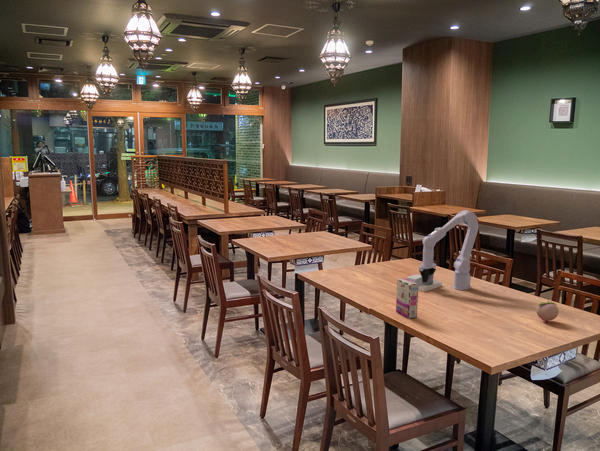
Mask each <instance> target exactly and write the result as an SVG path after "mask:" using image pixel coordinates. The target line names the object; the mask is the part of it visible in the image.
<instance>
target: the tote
mask: <svg viewBox="0 0 600 451" xmlns="http://www.w3.org/2000/svg"><path fill="white" fill-rule="evenodd" d="M442 286H443V282H442V280H437V279H433V284H431V285H429V286H426V285H420V286H418V292H421V293H425V292H428V291H431V290H434V289H436V288H440V287H442Z"/></svg>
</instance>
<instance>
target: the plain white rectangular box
mask: <svg viewBox="0 0 600 451" xmlns="http://www.w3.org/2000/svg"><path fill="white" fill-rule="evenodd" d="M405 279H408V280H410V281H412V282H415V283H417V284H418V286H420V285H422V276H421V274H412V275H410V276H406V277H405Z"/></svg>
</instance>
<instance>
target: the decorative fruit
mask: <svg viewBox="0 0 600 451" xmlns="http://www.w3.org/2000/svg"><path fill="white" fill-rule="evenodd" d="M557 306H558V305H557V303H555V302H551V301H550V302H549V300H547V302H543V301H542V302H540V303H538V304H537V305H536V308H535V313H536V315H537V317H538V318H539V319H540V320H542V321H544V322H546V323H547V322H550V321H553V320H555V319H556V318H557V317H558V315H559V308H558V307H557Z"/></svg>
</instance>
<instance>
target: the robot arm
mask: <svg viewBox="0 0 600 451" xmlns="http://www.w3.org/2000/svg"><path fill="white" fill-rule="evenodd" d="M478 221H479V220H478V215H476V213H475V212H473V211H469V210H468V209H462V210H461V211H460V212H458V213H457V214H456V215H454V216H453V217H452V218H451V219H450V220H449V221H448V222H447V223H446V224H444V225H443V226H442V227H436V228H434V231H432V232H431V233H429V234H428V235H427V236H424V238H422V245H423V249H422V263H421V264H420V266H419V267H418V272H419V273H420V274H419V275H421V276H422V281H423V282H425V283H426V282H427V277H428V274H429V273H430V274H433V275H434V274H435V272H436V270H437V269H436V267H437V263H435V262H434V256H435V254H434V253H435V252H434V247H435V246H436V243H438V242H439V241H440V240H441V239H443V238H444V237H445V236H447V232H449V231H450V230H451V229H453V228H454V227H455V226H457V225H458V224H460V225H461V224H465V225H466V227H467V231H466V234H465V238H464V241H463V244H462V248H461V251H460V253H459V255H458V256H457V258H456V260H455V261H453V268H454V269H455V270H454V276H453V277H454V280H453V281H454V282H453V283H454V284H453V285H452V286H450V288H452V289H455V290H457V291H458V290H460V291H462V292H463V291H466V290H469V289H472V286H471V279H472V278H471V273H469V272H470V270H471V266H470V265H471V259H470V257H471V254H472V250H473V247H474V245H475V241H476V237H477V234H478V232H479V228H480V227H479V226H480V225H479V222H478Z"/></svg>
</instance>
